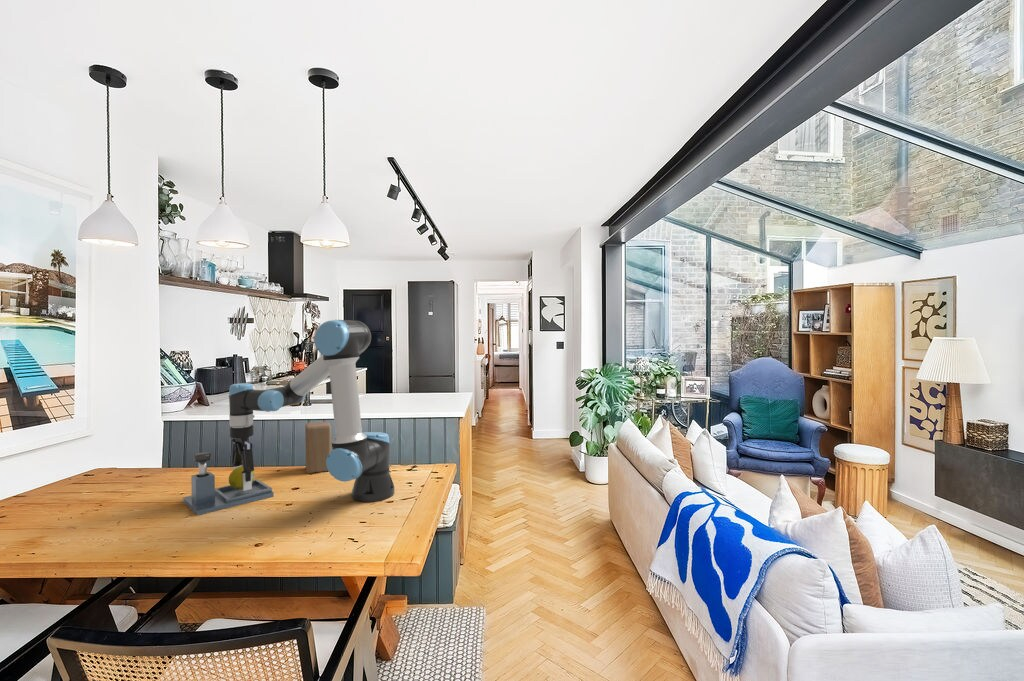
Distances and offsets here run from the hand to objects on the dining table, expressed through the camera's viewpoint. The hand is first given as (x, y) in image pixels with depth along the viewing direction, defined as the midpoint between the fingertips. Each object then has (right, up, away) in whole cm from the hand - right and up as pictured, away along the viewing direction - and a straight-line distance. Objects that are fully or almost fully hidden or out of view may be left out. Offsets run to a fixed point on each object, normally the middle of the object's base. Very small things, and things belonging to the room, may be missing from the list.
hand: (242, 486), depth 174 cm
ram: (-9, +4, -9) cm, 13 cm away
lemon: (0, -1, 0) cm, 1 cm away
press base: (-3, -3, -3) cm, 6 cm away
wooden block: (+15, -3, +32) cm, 35 cm away
